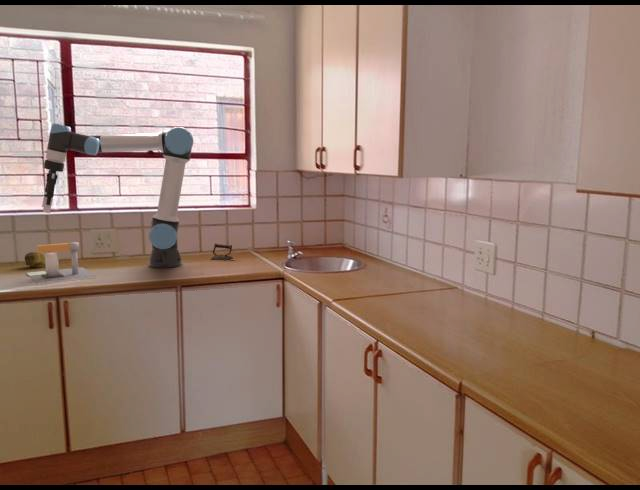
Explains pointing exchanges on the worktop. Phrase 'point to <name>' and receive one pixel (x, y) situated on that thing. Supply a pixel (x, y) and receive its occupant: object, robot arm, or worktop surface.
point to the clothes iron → (222, 257)
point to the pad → (36, 273)
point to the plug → (51, 264)
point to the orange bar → (58, 247)
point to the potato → (35, 260)
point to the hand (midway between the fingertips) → (45, 210)
